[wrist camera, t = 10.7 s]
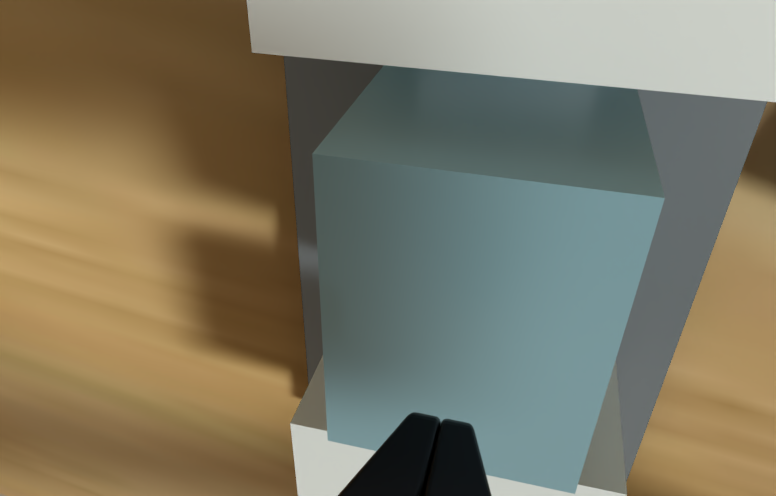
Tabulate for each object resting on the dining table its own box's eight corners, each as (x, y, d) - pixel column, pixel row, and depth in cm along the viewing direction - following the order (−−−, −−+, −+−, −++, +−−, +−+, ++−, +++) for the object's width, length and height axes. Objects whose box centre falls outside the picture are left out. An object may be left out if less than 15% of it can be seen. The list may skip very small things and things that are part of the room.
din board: (619, 466, 20) (634, 657, 15) (321, 405, 22) (254, 559, 17) (940, -441, 9) (1353, -747, 4) (272, -405, 11) (42, -587, 6)
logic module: (574, 317, 15) (574, 494, 11) (389, 286, 16) (327, 440, 12) (633, 72, 12) (665, 197, 8) (395, 50, 13) (312, 153, 9)
